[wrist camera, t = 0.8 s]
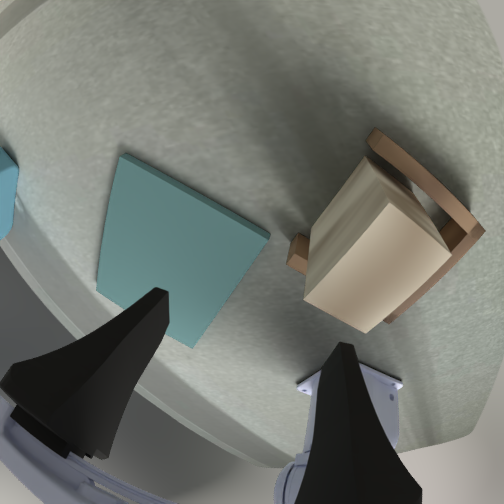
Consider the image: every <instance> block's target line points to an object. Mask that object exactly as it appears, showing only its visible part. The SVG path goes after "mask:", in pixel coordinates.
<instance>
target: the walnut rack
mask: <svg viewBox="0 0 504 504" xmlns="http://www.w3.org/2000/svg"><path fill="white" fill-rule="evenodd" d="M366 141H367V143H368V144H369V145H370V147H371V148H372V150H373V151H375V152H376V153H377V154H379V155H380V156H381V157H383V158H384V159H385V160H387V161H388V162H389V163H390V164H392V165H393V166H394V167H396V168H397V169H398V170H399V171H400V172H402V173H403V174H404V175H405V176H407V177H408V178H409V179H410V180H411V181H413V182H414V183H415V184H416V185H417V186H418V187H420V188H421V189H422V190H423V191H424V192H425V193H426V194H427V195H429V196H430V197H431V198H432V199H433V200H434V201H435V202H436V203H437V204H438V205H439V206H441V207H442V208H443V209H444V210H445V211H446V212H447V213H448V214H449V215H450V216H451V217H452V218H451V219H450V220H449V221H448V223H447V224H446V225H445V226H444V227H443V228H442V229H441V231H440V232H439V234H440V235H441V237H442V239H443V240H444V242H445V244H446V246H447V247H448V249H449V251H450V253H451V254H452V256H451V257H450V258H449V259H448V260H447V261H446V262H445V263H444V264H443V265H442V266H441V267H440V268H439V269H438V270H437V271H436V272H435V273H434V274H433V275H432V276H431V277H430V278H429V279H428V280H427V281H426V282H425V283H424V284H423V285H421V286H420V287H419V288H418V289H417V290H416V291H415V292H414V293H413V294H412V295H411V296H410V297H408V298H407V299H406V300H405V301H404V302H403V303H402V304H401V305H399V306H398V307H397V308H396V309H395V310H394V311H393V312H391V313H390V314H389V315H388V316H387V317H385V318H384V319H383V321H384V322H386V323H388V324H390V323H391V322H393V321H394V320H395V319H396V318H397V317H399V316H400V315H401V314H402V313H403V312H405V311H406V310H407V309H408V308H409V307H410V306H412V305H413V304H414V303H415V302H416V301H417V300H418V299H419V298H421V297H422V296H423V295H424V294H425V293H426V292H427V291H428V290H429V289H430V288H431V287H433V286H434V285H435V284H436V283H437V282H438V281H439V280H440V279H441V278H442V277H443V276H444V275H445V274H446V273H447V272H448V271H449V270H450V269H451V268H452V267H453V266H454V265H455V264H456V263H457V262H458V261H459V260H460V259H461V258H462V257H463V256H464V255H465V254H466V252H467V251H468V250H469V249H470V248H471V247H472V246H473V245H474V244H475V243H476V242H477V240H478V239H479V238H480V237H481V236H482V235H483V234H484V232H485V230H484V228H483V227H482V226H481V225H480V223H479V222H478V221H477V220H476V219H475V217H474V216H473V215H472V214H471V213H470V212H469V210H468V209H467V208H466V207H465V206H464V205H463V204H462V203H461V202H460V201H459V200H458V199H457V198H456V197H455V196H454V195H453V194H452V193H451V192H450V191H449V190H448V189H447V188H446V187H445V186H444V185H443V184H442V183H441V182H440V181H439V180H438V179H437V178H436V177H435V176H434V175H432V174H431V173H430V172H429V171H428V170H427V169H426V168H425V167H424V166H422V165H421V164H420V163H419V162H418V161H417V160H416V159H414V158H413V157H412V156H411V155H410V154H409V153H407V152H406V151H405V150H404V149H402V148H401V147H400V146H399V145H398V144H396V143H395V142H394V141H393V140H391V139H390V138H389V137H387V136H386V135H385V134H383V133H382V132H381V131H380V130H378V129H377V128H374V129H373V131H372V132H371V134H370V135H369V136H368V138H367V139H366ZM309 245H310V239H308V238H306V237H305V236H303V235H301V234H300V233H298V234H297V235H296V237H295V238H294V239H293V241H292V242H291V244H290V249H289V253H288V258H287V262H286V265H288V266H290V267H292V268H293V269H295V270H297V271H298V272H300V273H302V274H304V275H305V276H306V272H307V264H308V255H309Z"/></svg>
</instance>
